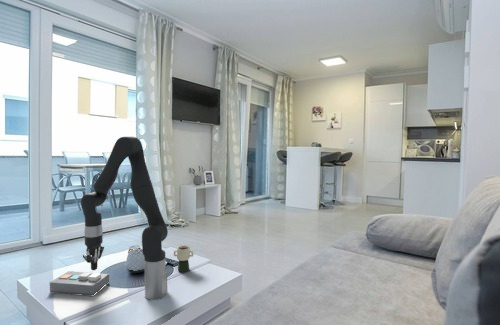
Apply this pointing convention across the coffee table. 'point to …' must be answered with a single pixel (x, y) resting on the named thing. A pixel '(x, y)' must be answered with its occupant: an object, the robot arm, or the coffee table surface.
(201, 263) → the coffee table surface
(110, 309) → the coffee table surface
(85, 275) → the grey key
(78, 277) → the teal key
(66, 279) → the terracotta key
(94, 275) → the block
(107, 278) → the keypad board
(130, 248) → the soda can
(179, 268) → the character mug
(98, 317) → the coffee table surface
